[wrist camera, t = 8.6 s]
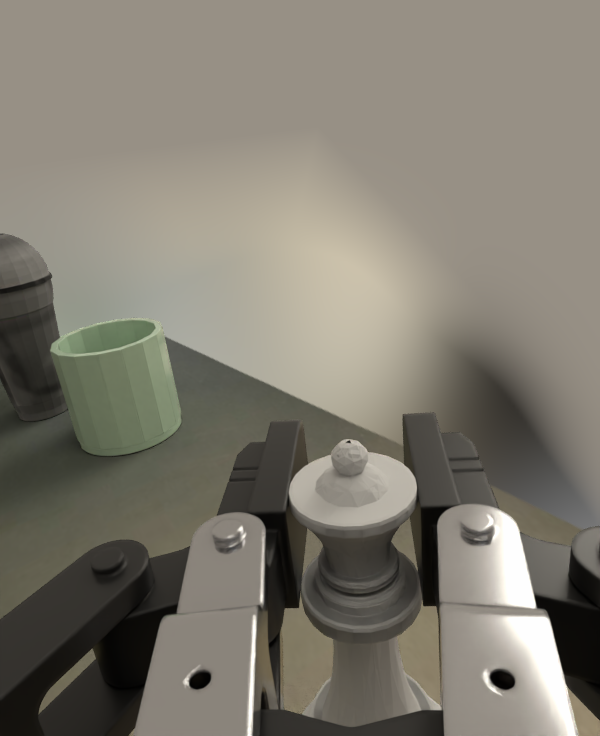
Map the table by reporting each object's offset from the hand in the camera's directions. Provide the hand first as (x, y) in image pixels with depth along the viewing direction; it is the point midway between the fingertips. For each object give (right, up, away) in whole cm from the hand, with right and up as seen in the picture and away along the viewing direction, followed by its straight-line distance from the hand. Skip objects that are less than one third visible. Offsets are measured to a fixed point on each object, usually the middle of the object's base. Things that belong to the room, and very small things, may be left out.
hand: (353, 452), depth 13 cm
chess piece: (+1, -9, 0) cm, 9 cm away
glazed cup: (-15, -3, +32) cm, 35 cm away
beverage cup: (-24, -2, +37) cm, 45 cm away
